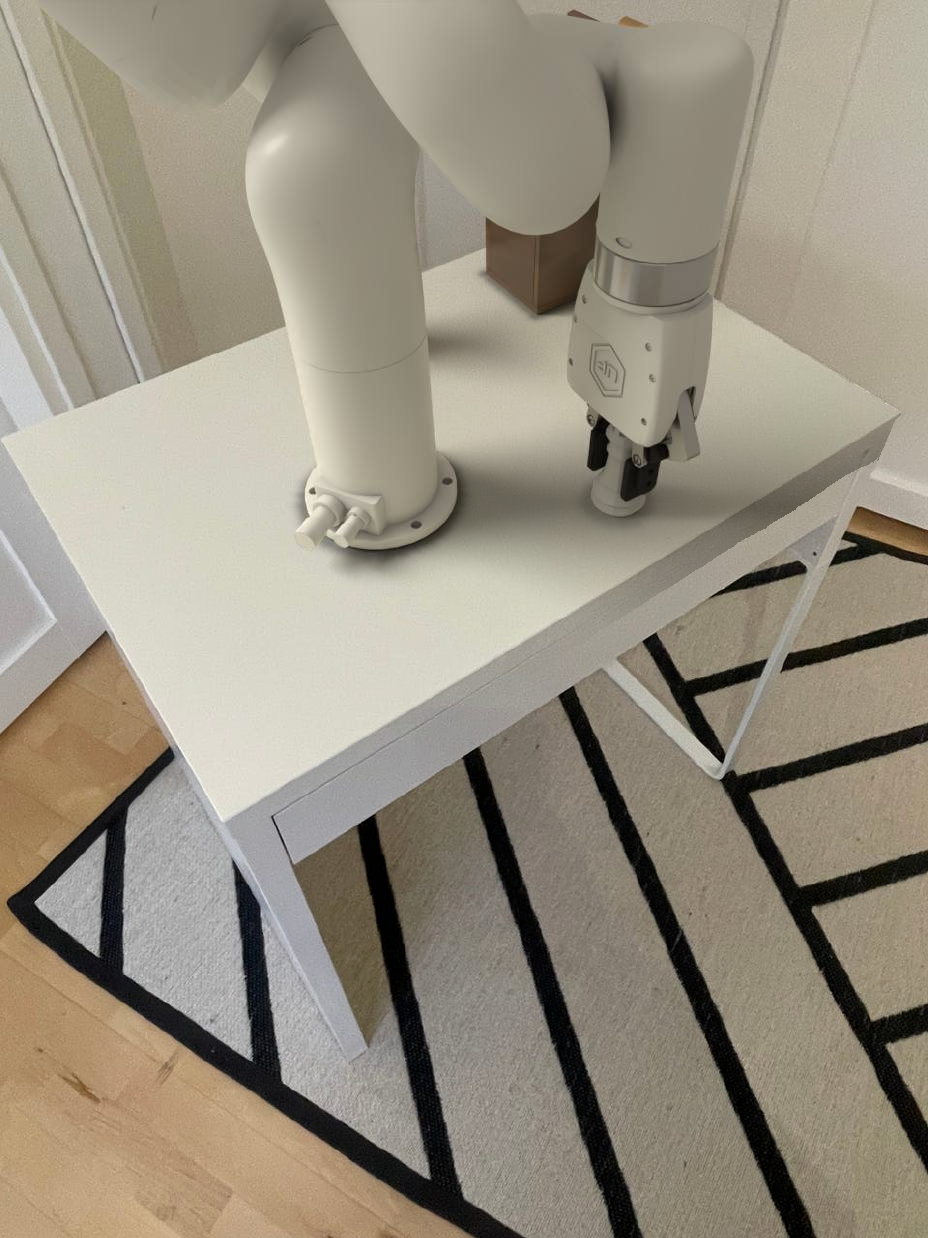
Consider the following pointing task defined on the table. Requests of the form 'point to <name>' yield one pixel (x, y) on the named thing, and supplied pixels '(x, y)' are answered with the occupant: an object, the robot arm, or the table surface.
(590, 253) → the chest
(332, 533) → the robot arm
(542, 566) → the table surface
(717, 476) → the table surface
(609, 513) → the rook chess piece
